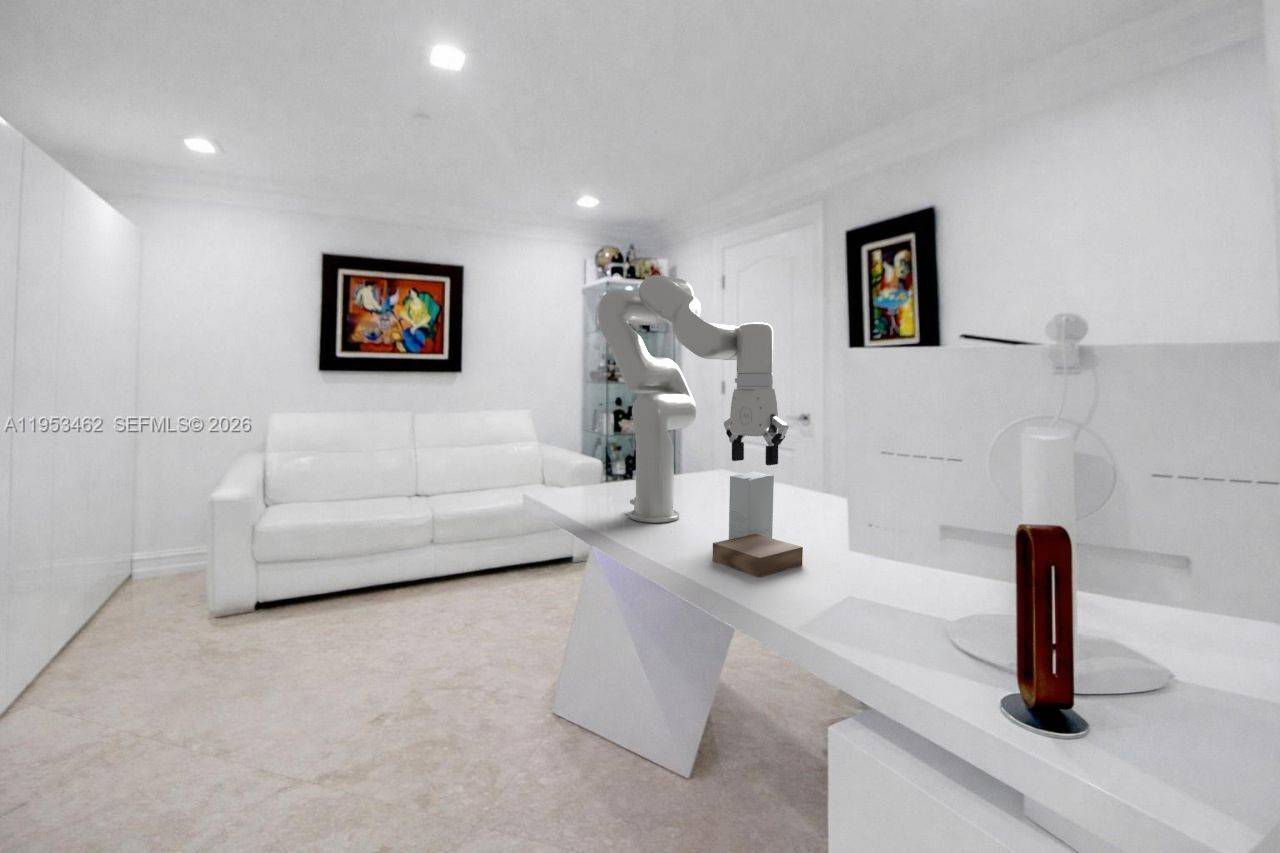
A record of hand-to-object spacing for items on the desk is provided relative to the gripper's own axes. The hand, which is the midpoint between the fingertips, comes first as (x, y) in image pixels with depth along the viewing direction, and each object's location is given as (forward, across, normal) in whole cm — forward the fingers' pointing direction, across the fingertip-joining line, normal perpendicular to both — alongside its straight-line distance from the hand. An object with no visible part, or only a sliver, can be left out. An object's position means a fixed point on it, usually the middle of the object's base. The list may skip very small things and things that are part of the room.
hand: (754, 462), depth 129 cm
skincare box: (+18, -1, 0) cm, 18 cm away
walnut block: (+18, +10, -10) cm, 23 cm away
